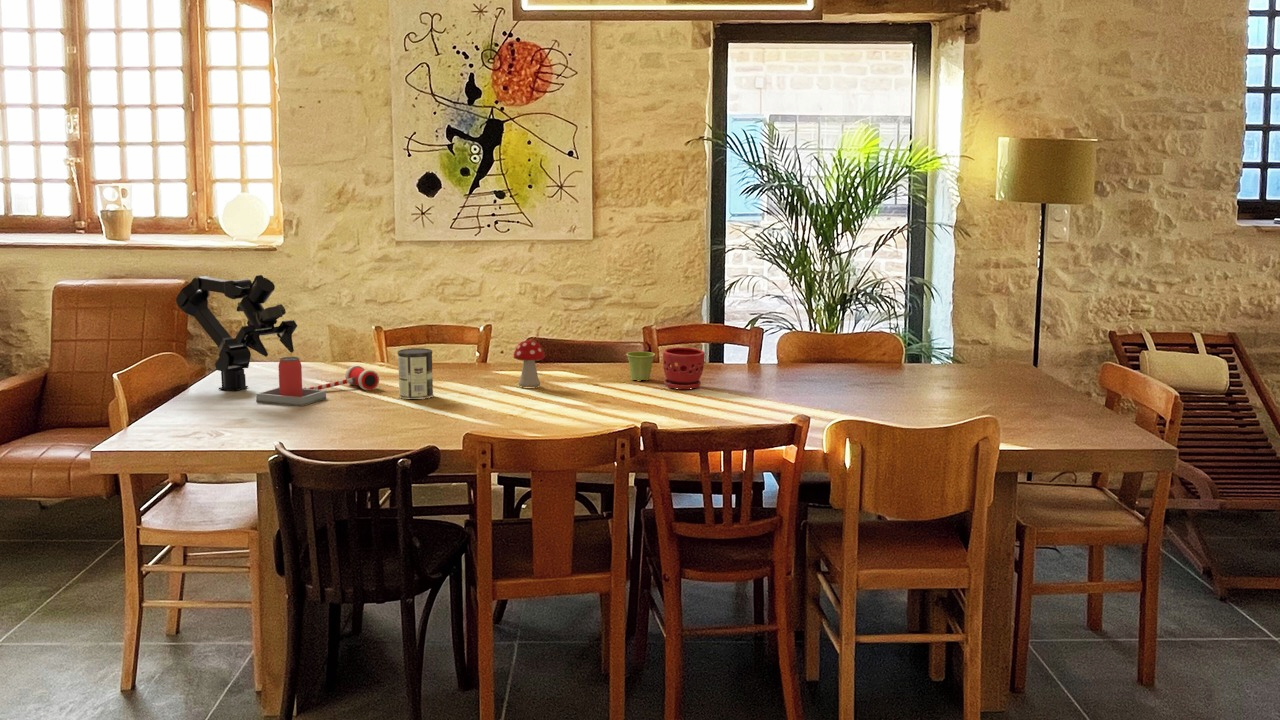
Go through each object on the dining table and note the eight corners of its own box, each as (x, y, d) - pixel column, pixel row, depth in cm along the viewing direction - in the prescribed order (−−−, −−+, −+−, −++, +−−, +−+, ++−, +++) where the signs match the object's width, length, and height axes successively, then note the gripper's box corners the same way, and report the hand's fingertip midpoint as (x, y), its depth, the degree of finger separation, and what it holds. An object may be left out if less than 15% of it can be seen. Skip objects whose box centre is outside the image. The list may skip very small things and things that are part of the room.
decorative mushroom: (547, 385, 406) (547, 338, 404) (542, 390, 398) (542, 342, 396) (516, 384, 407) (516, 337, 405) (511, 389, 399) (510, 341, 396)
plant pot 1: (660, 379, 418) (660, 353, 416) (644, 383, 410) (645, 357, 408) (636, 376, 423) (636, 350, 421) (620, 380, 415) (620, 354, 413)
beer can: (303, 395, 383) (302, 356, 381) (301, 400, 377) (299, 360, 375) (281, 396, 382) (279, 356, 380) (278, 400, 376) (276, 360, 374)
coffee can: (419, 392, 394) (418, 346, 391) (440, 396, 387) (439, 350, 384) (391, 396, 386) (390, 350, 384) (412, 401, 379) (411, 354, 377)
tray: (256, 402, 377) (256, 393, 376) (281, 394, 388) (280, 386, 387) (302, 406, 371) (302, 397, 371) (326, 398, 382) (325, 390, 382)
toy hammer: (309, 397, 385) (309, 376, 384) (295, 391, 394) (294, 371, 393) (380, 389, 398) (379, 369, 397) (364, 384, 408) (363, 364, 407)
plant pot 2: (656, 389, 400) (656, 352, 398) (671, 382, 412) (671, 345, 410) (695, 393, 396) (696, 354, 394) (709, 385, 408) (710, 348, 406)
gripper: (239, 299, 373) (264, 340, 368) (292, 293, 388) (317, 333, 383) (224, 323, 379) (249, 364, 375) (277, 316, 394) (301, 356, 389)
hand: (279, 353), depth 380 cm, fingers open, 9 cm apart
